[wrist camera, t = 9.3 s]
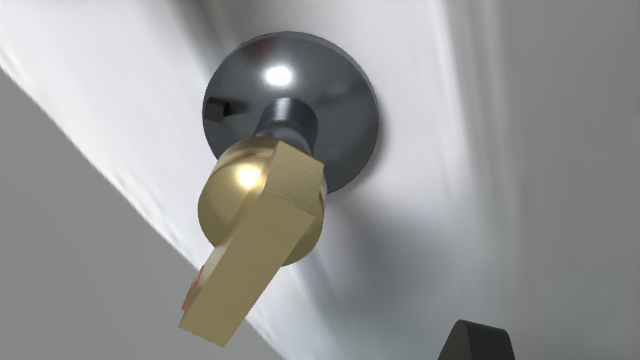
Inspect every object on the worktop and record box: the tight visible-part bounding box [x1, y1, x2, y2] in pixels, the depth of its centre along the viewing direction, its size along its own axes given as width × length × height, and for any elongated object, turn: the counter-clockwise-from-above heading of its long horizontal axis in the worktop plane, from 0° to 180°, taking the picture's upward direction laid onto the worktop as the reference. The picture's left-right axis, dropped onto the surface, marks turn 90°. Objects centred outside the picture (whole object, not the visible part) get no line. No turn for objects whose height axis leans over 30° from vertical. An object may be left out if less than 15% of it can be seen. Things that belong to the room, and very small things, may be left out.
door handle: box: [179, 136, 327, 347], centre depth 28 cm, size 10×6×8 cm, turn 150°
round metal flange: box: [202, 31, 378, 194], centre depth 36 cm, size 12×12×10 cm
